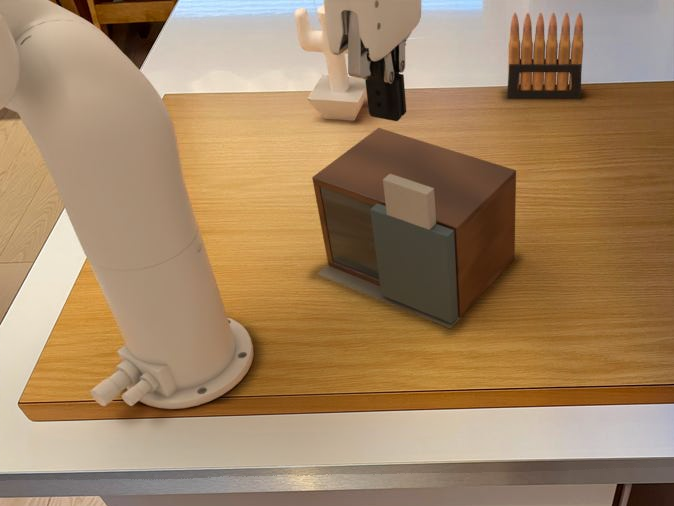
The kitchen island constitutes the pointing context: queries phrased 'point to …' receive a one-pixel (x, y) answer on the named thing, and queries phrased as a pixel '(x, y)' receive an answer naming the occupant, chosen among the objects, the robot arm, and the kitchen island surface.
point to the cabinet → (450, 207)
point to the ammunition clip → (545, 60)
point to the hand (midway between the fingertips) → (387, 114)
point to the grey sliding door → (414, 250)
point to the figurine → (330, 73)
